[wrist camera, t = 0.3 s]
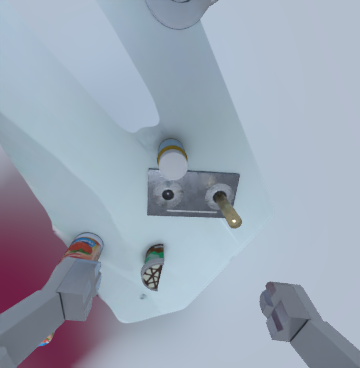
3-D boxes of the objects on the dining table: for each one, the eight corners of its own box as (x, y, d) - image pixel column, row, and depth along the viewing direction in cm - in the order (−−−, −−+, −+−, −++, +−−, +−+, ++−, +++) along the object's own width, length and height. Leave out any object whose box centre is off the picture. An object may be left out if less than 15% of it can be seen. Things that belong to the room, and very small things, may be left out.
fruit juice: (81, 257, 65) (26, 357, 39) (69, 235, 61) (0, 329, 35) (107, 251, 65) (70, 347, 39) (97, 229, 61) (49, 318, 35)
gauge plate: (148, 168, 55) (143, 190, 41) (238, 173, 58) (262, 195, 43) (147, 213, 60) (142, 246, 46) (229, 216, 63) (248, 247, 49)
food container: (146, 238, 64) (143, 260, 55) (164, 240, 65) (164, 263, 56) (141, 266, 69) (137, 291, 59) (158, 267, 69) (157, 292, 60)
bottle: (188, 150, 54) (196, 166, 40) (171, 167, 55) (173, 188, 41) (170, 133, 52) (172, 142, 38) (153, 151, 53) (149, 167, 39)
